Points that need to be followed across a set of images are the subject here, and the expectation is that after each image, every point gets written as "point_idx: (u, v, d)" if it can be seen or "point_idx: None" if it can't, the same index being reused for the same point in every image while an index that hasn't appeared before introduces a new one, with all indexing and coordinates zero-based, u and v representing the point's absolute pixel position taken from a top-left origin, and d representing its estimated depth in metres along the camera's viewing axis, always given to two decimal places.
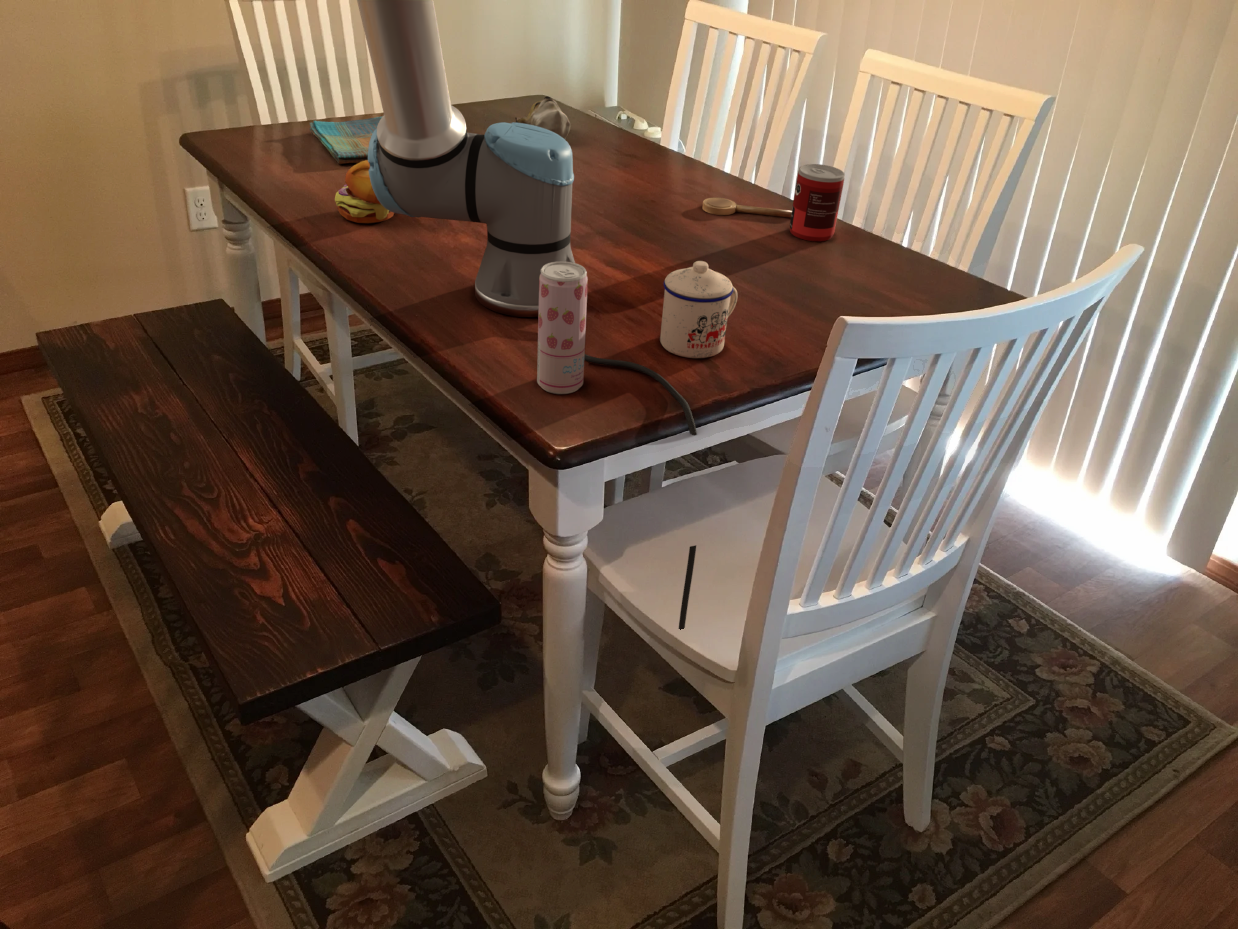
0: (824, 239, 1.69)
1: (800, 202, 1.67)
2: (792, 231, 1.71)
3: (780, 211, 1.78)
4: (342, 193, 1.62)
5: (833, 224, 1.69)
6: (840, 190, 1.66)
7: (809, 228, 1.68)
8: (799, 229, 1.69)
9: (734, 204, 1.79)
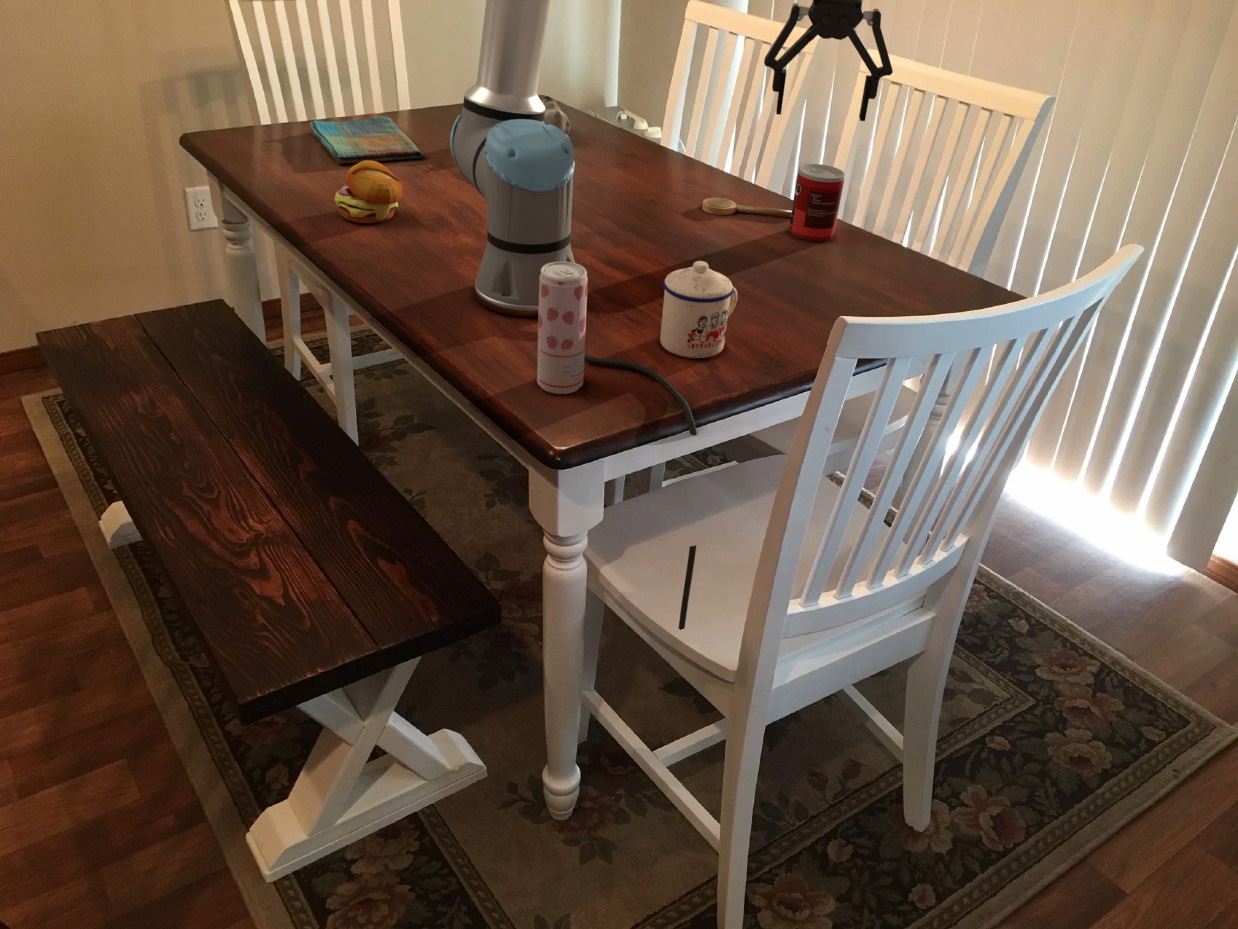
0: (824, 239, 1.69)
1: (800, 202, 1.67)
2: (792, 231, 1.71)
3: (780, 211, 1.78)
4: (342, 193, 1.62)
5: (833, 224, 1.69)
6: (840, 190, 1.66)
7: (809, 228, 1.68)
8: (799, 229, 1.69)
9: (734, 204, 1.79)
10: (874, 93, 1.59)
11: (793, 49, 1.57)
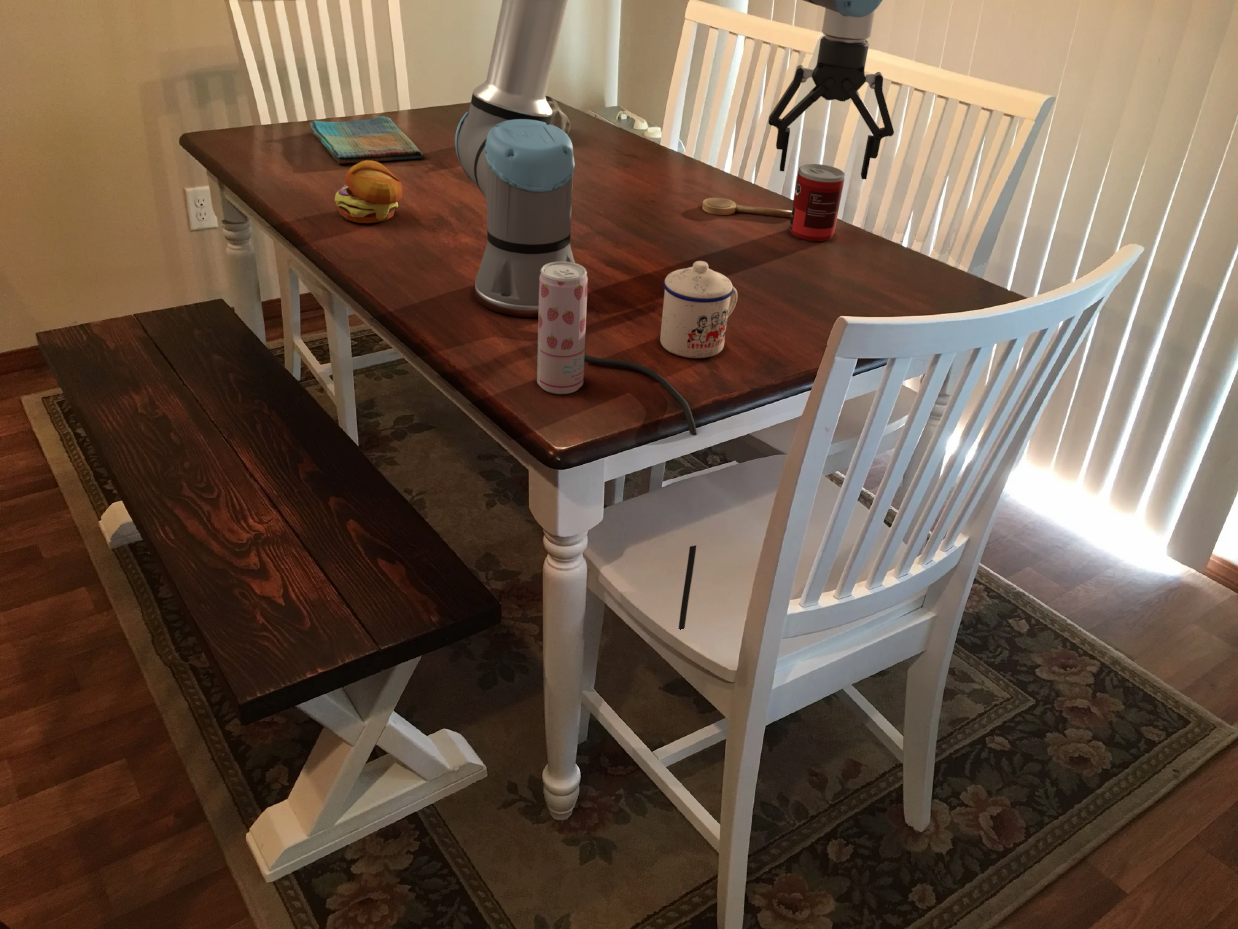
0: (824, 239, 1.69)
1: (800, 202, 1.67)
2: (792, 231, 1.71)
3: (780, 211, 1.78)
4: (342, 193, 1.62)
5: (833, 224, 1.69)
6: (840, 190, 1.66)
7: (809, 228, 1.68)
8: (799, 229, 1.69)
9: (734, 204, 1.79)
10: (875, 153, 1.63)
11: (797, 109, 1.60)
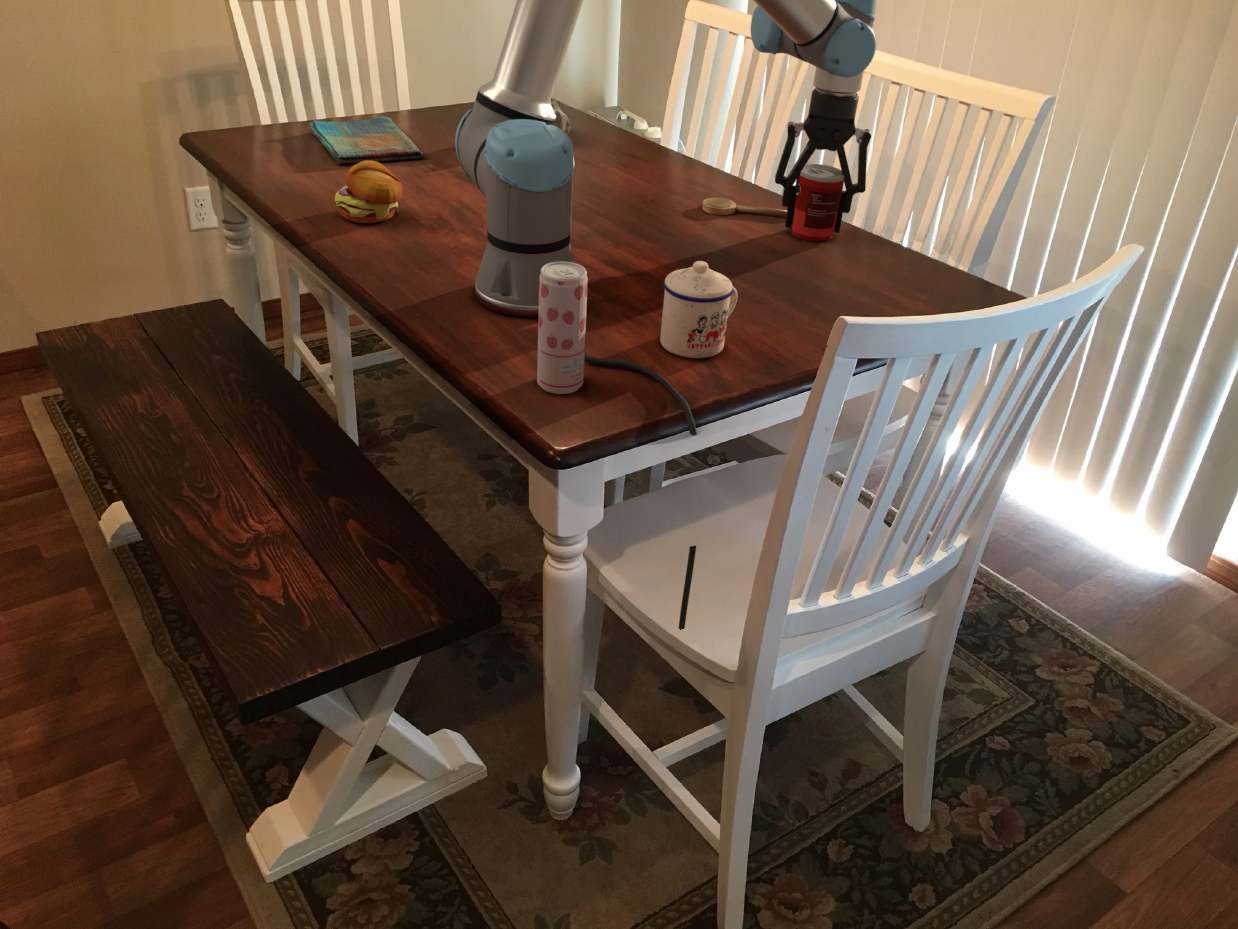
0: (824, 239, 1.69)
1: (800, 202, 1.67)
2: (792, 231, 1.71)
3: (780, 211, 1.78)
4: (342, 193, 1.62)
5: (833, 224, 1.69)
6: (840, 190, 1.66)
7: (809, 228, 1.68)
8: (799, 229, 1.69)
9: (734, 204, 1.79)
10: (848, 208, 1.68)
11: (797, 166, 1.65)
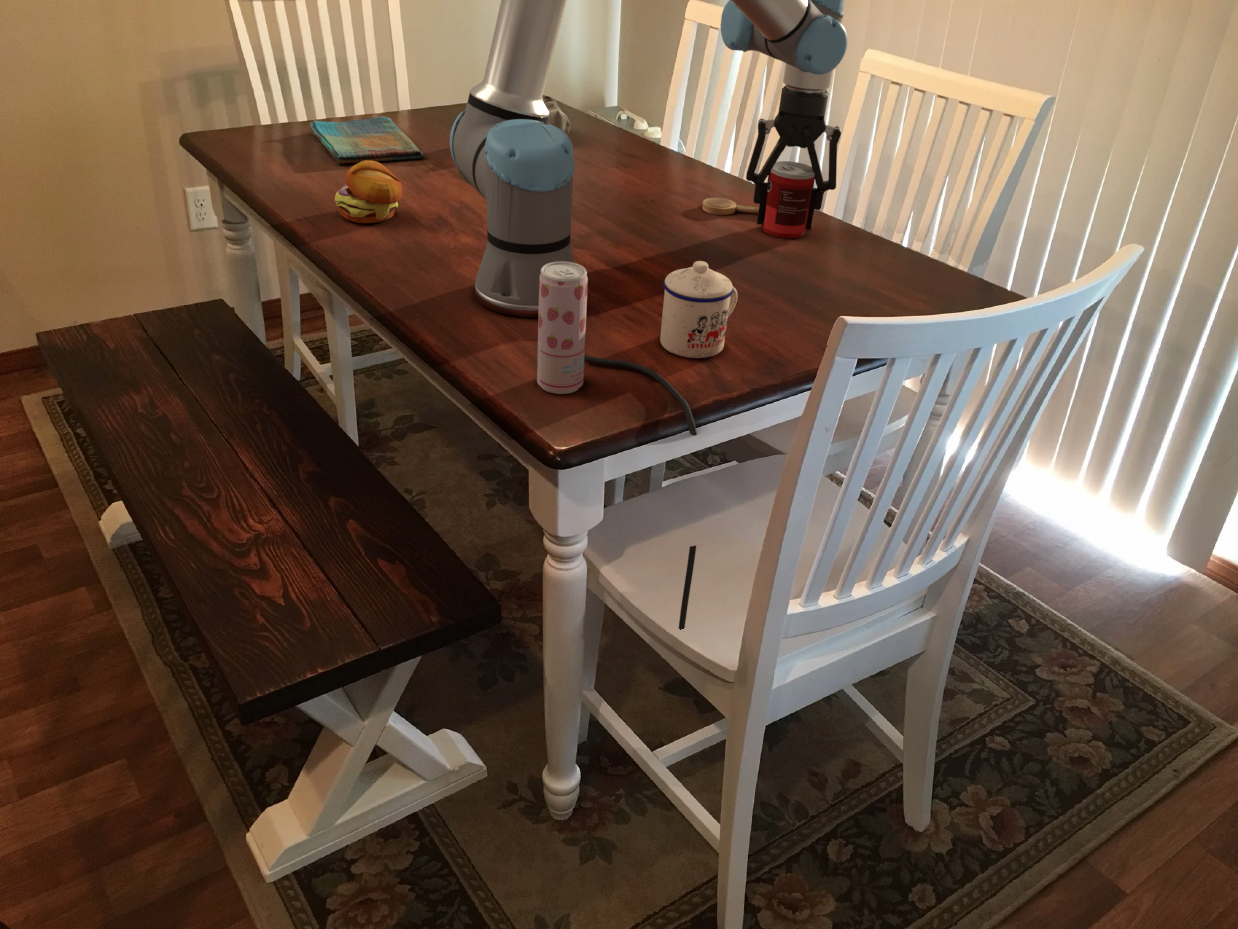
0: (795, 236, 1.70)
1: (771, 199, 1.67)
2: (764, 228, 1.71)
3: None
4: (342, 193, 1.62)
5: (804, 221, 1.69)
6: (811, 187, 1.66)
7: (780, 225, 1.68)
8: (771, 226, 1.69)
9: (734, 204, 1.79)
10: (819, 205, 1.69)
11: (768, 163, 1.66)
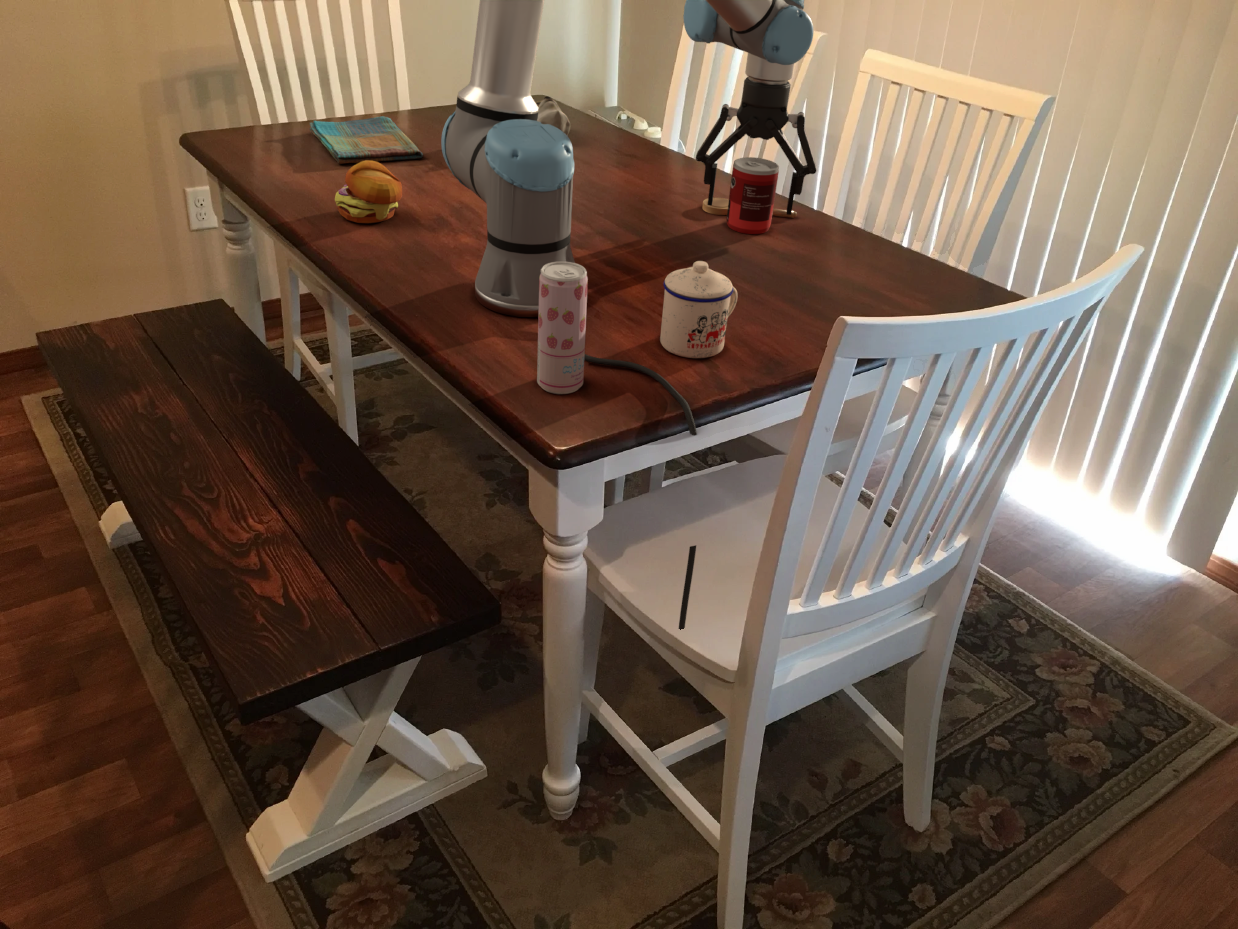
0: (760, 232, 1.70)
1: (735, 195, 1.68)
2: (729, 224, 1.72)
3: (780, 211, 1.78)
4: (342, 193, 1.62)
5: (768, 217, 1.70)
6: (774, 183, 1.67)
7: (744, 220, 1.69)
8: (735, 222, 1.70)
9: None
10: (799, 189, 1.68)
11: (722, 146, 1.65)
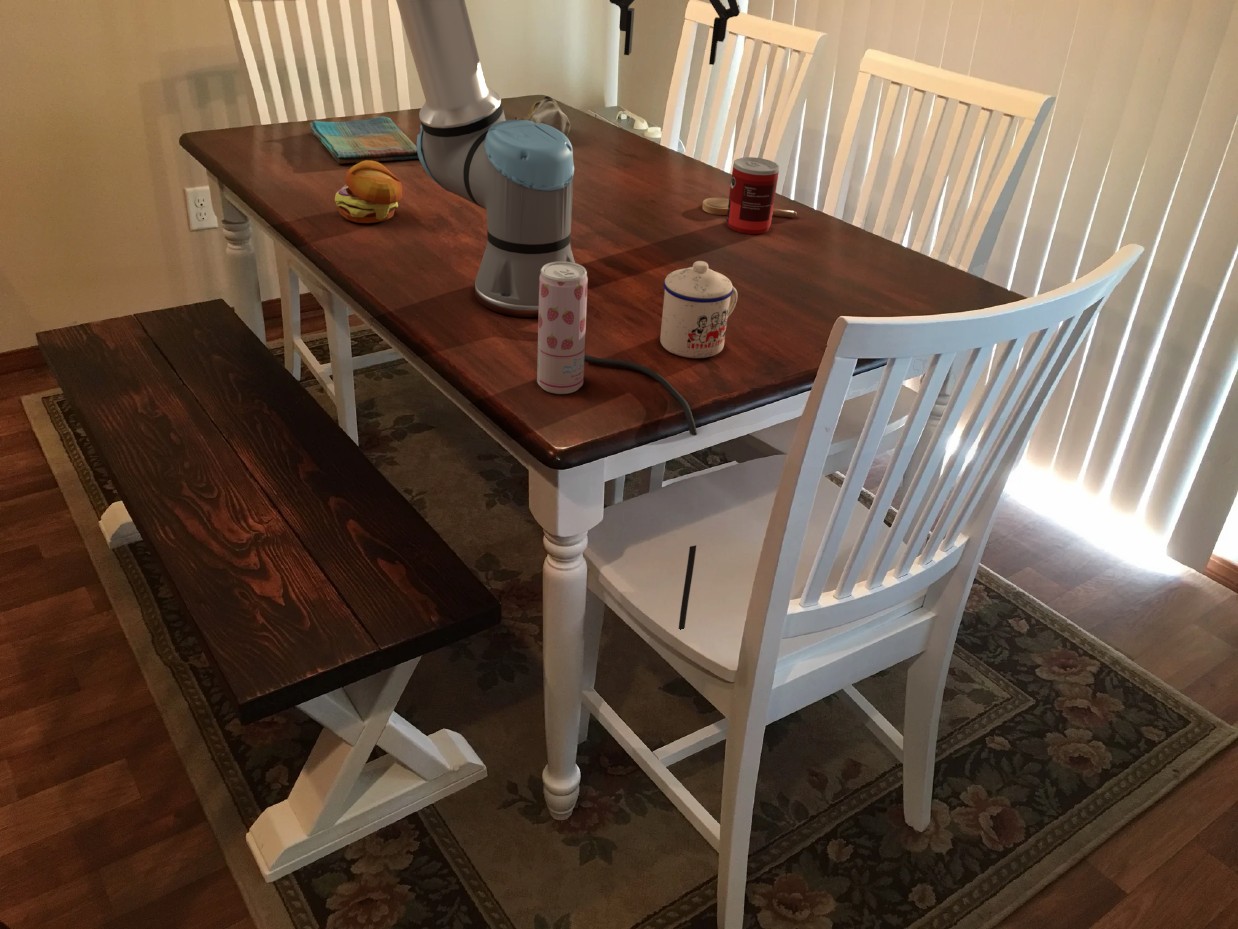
0: (760, 232, 1.70)
1: (735, 195, 1.68)
2: (729, 224, 1.72)
3: (780, 211, 1.78)
4: (342, 193, 1.62)
5: (768, 217, 1.70)
6: (774, 183, 1.67)
7: (744, 221, 1.69)
8: (735, 222, 1.70)
9: None
10: (722, 35, 1.54)
11: None
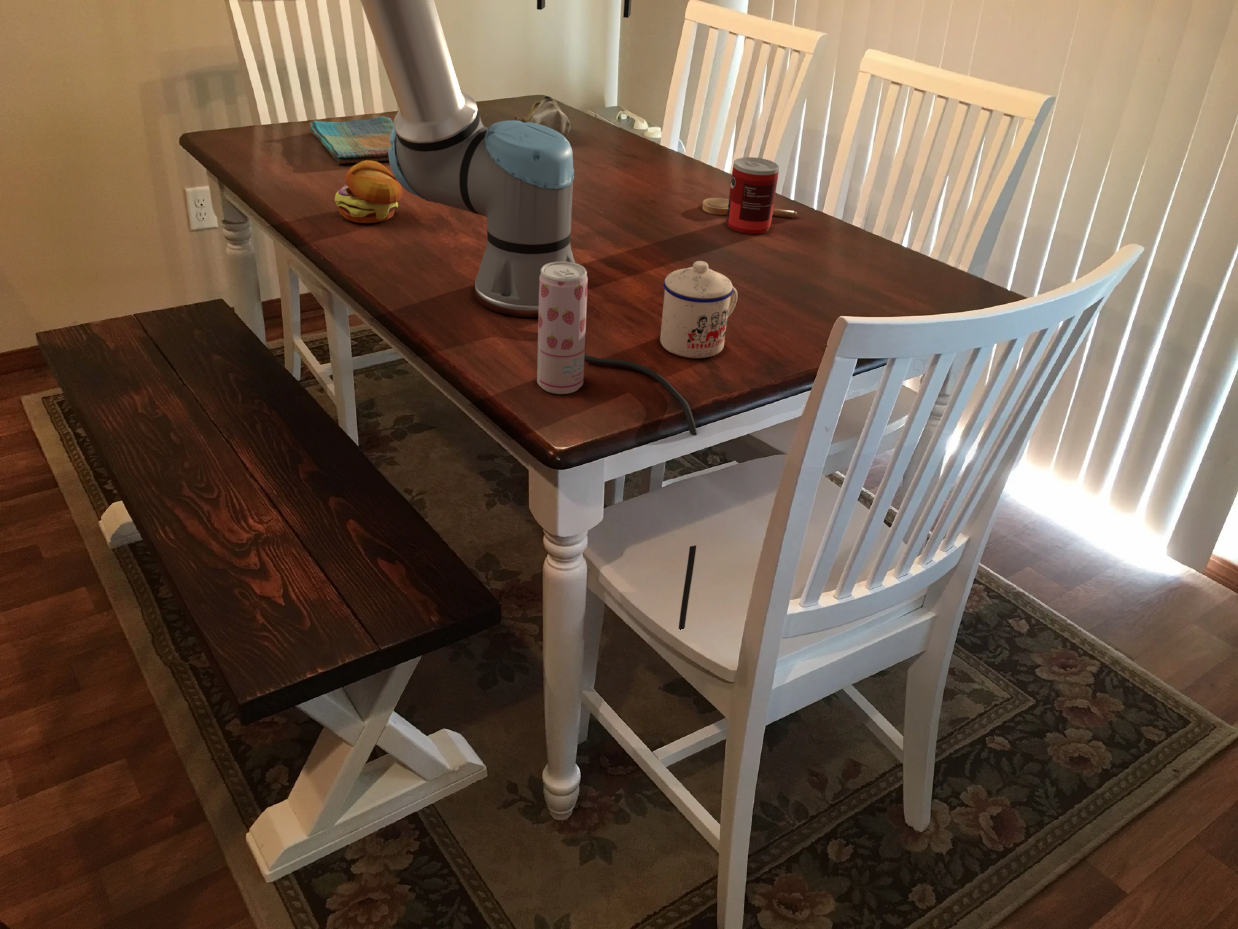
0: (760, 232, 1.70)
1: (735, 195, 1.68)
2: (729, 224, 1.72)
3: (780, 211, 1.78)
4: (342, 193, 1.62)
5: (768, 217, 1.70)
6: (774, 183, 1.67)
7: (744, 220, 1.69)
8: (735, 222, 1.70)
9: None
10: None
11: None
